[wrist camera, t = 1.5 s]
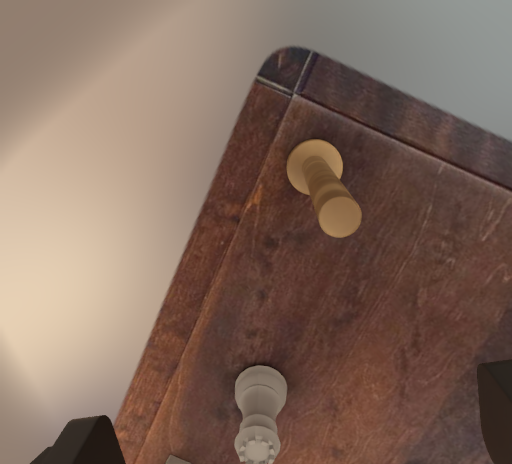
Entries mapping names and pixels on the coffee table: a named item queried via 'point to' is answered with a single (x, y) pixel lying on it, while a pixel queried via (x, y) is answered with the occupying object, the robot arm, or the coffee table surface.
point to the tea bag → (175, 460)
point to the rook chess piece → (259, 413)
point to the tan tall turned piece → (324, 186)
